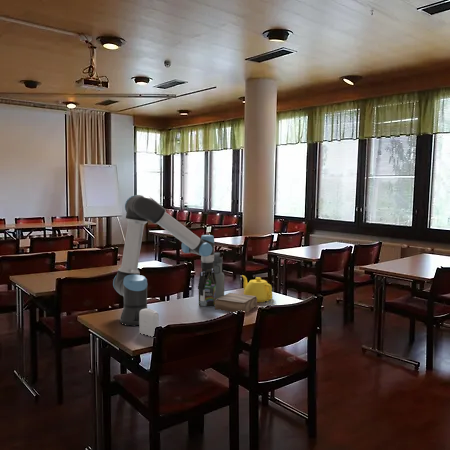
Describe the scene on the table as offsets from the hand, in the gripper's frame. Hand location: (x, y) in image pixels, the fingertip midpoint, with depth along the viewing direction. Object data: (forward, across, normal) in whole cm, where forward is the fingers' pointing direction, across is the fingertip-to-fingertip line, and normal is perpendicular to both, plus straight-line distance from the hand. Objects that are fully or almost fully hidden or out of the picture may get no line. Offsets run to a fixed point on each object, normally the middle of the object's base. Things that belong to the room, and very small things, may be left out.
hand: (207, 298), depth 269 cm
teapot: (+4, +27, -20) cm, 34 cm away
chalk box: (+4, 0, 0) cm, 4 cm away
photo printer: (+4, -61, -3) cm, 61 cm away
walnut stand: (+4, +2, -18) cm, 18 cm away
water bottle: (+4, +17, +3) cm, 18 cm away
